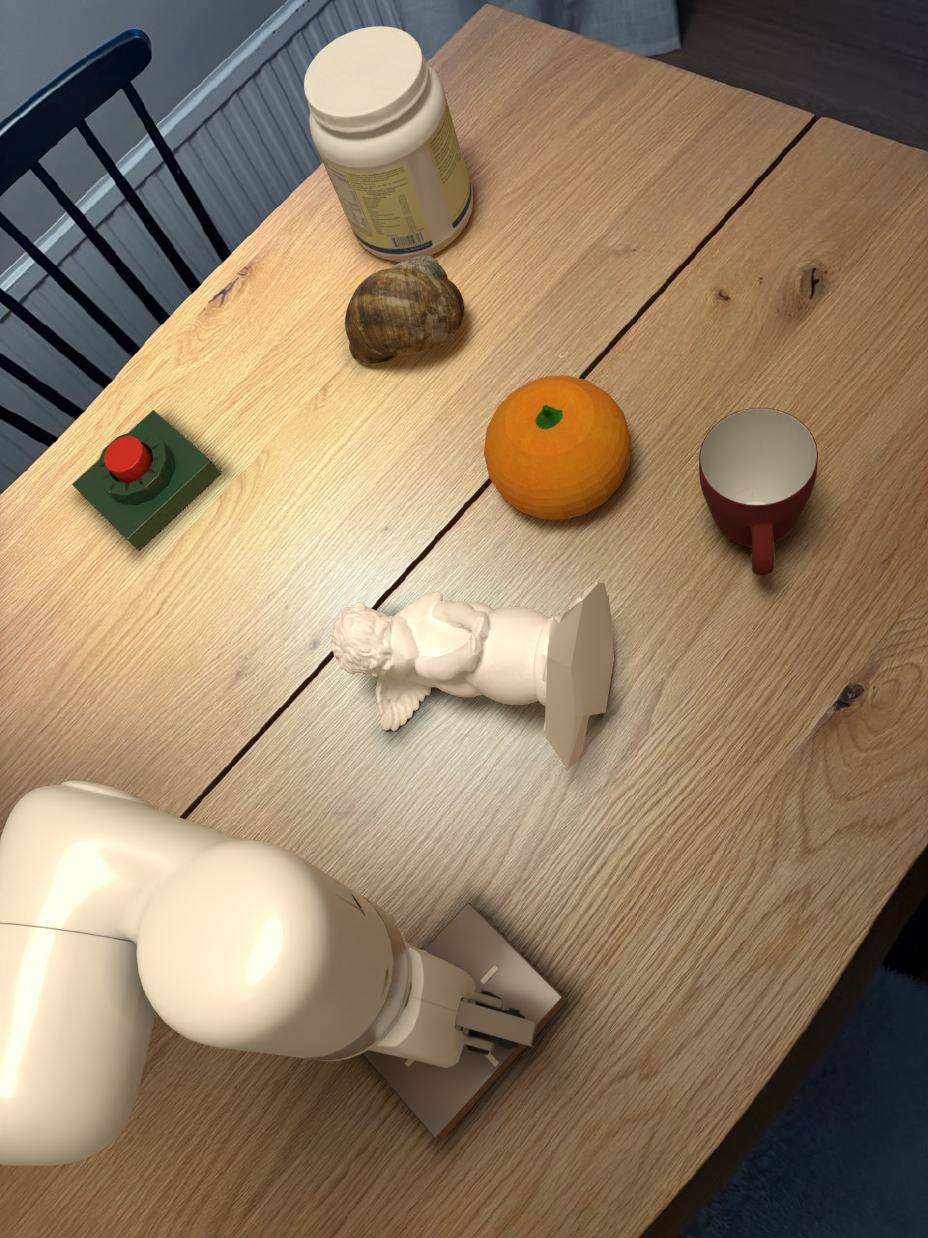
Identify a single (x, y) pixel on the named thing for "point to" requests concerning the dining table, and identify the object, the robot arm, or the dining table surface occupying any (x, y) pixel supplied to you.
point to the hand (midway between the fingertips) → (413, 1004)
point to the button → (127, 459)
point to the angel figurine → (486, 658)
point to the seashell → (403, 311)
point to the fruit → (557, 447)
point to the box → (149, 482)
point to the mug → (758, 478)
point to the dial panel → (457, 1088)
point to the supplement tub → (388, 143)
